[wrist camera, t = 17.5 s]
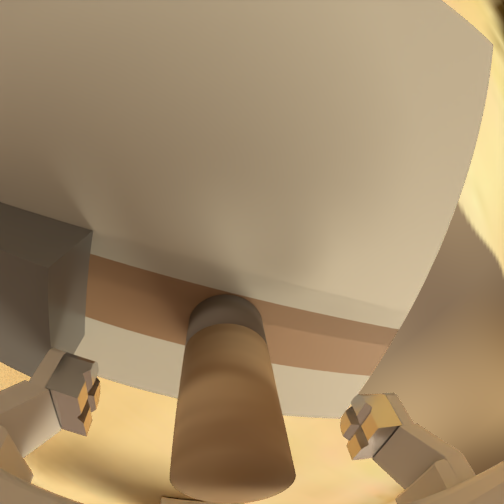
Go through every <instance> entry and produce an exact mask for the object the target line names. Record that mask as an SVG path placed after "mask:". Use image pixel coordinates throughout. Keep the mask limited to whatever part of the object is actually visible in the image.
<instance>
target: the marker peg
mask: <svg viewBox="0 0 504 504" xmlns="http://www.w3.org/2000/svg"><path fill="white" fill-rule="evenodd" d="M295 477H296V474H295V469H294V465H293V460H292V456H291V451H290V447H289V442H288V437H287V433H286V428H285V424H284V419H283V415H282V410H281V405H280V401H279V396H278V392H277V387H276V382H275V378H274V373H273V369H272V364H271V359H270V355H269V350H268V345H267V341H266V336H265V331H264V327H263V322H262V317H261V315H260V313H259V311H258V309H257V308H256V307H255V306H254V305H253V304H252V303H251V302H249V301H248V300H246V299H244V298H242V297H239V296H235V295H227V294H223V295H216V296H212V297H209V298H207V299H205V300H203V301H202V302H200V303H199V304H198V305H197V306H196V307H195V308H194V310H193V311H192V313H191V315H190V318H189V323H188V330H187V336H186V343H185V350H184V357H183V364H182V371H181V378H180V386H179V394H178V402H177V410H176V418H175V427H174V436H173V446H172V456H171V467H170V482H171V484H172V485H173V486H174V488H175V489H177V490H178V491H179V492H181V493H183V494H185V495H187V496H189V497H192V498H195V499H198V500H202V501H207V502H213V503H224V504H236V503H248V502H254V501H259V500H263V499H266V498H269V497H272V496H275V495H277V494H279V493H281V492H283V491H284V490H286V489H287V488H289V487H290V486H291V485H292V483H293V482H294V480H295Z"/></svg>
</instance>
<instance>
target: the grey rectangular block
mask: <svg viewBox="0 0 504 504" xmlns="http://www.w3.org/2000/svg"><path fill="white" fill-rule="evenodd" d="M92 236H93V230H89V229H86V228H82V227H79V226H76V225H72V224H69V223H66V222H62V221H59V220H56V219H53V218H49V217H46V216H43V215H40V214H36V213H33V212H30V211H27V210H23V209H20V208H17V207H14V206H11V205H8V204H4V203H1V202H0V362H2V363H4V364H6V365H7V366H9V367H11V368H13V369H15V370H17V371H20V372H22V373H24V374H26V375H28V376H30V377H32V376H33V374H34V373H35V371H36V369H37V368H38V366H39V365H40V363H41V362H42V360H43V358H44V357H45V355H46V354H47V352H48V351H49V350H50V349H52V348H55V349H58V350H61V351H64V352H68V353H71V354H74V353H75V351H76V349H77V348H78V346H79V344H80V342H81V341H82V339H83V337H84V336H85V311H86V294H87V281H88V270H89V260H90V251H91V243H92Z"/></svg>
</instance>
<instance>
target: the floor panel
mask: <svg viewBox="0 0 504 504" xmlns="http://www.w3.org/2000/svg"><path fill="white" fill-rule="evenodd" d="M492 53H493V44H492V43H491V42H490V41H489V40H488V39H487V38H486V37H485V36H484V35H483V34H482V33H481V32H479V31H478V30H477V29H476V28H475V27H474V26H473V25H472V24H470V23H469V22H468V21H467V20H466V19H465V18H463V17H462V16H461V15H460V14H458V13H457V12H456V11H455V10H453V9H452V8H451V7H450V6H448V5H447V4H446V3H444V2H443V1H442V0H0V202H1V203H4V204H8V205H11V206H14V207H17V208H20V209H23V210H27V211H30V212H33V213H36V214H40V215H43V216H46V217H49V218H53V219H56V220H59V221H62V222H66V223H69V224H72V225H76V226H79V227H82V228H86V229H89V230H93V236H92V243H91V251H90V260H89V270H88V281H87V294H86V311H85V336H84V337H83V339H82V341H81V342H80V344H79V346H78V348H77V349H76V351H75V353H74V355H77V356H80V357H83V358H86V359H89V360H92V361H96V362H97V363H98V369H99V372H98V374H97V376H98V377H101V378H105V379H108V380H111V381H114V382H117V383H121V384H124V385H127V386H131V387H134V388H138V389H142V390H145V391H149V392H153V393H157V394H161V395H165V396H169V397H174V398H178V394H179V386H180V378H181V371H182V364H183V357H184V350H185V343H186V336H187V330H188V323H189V318H190V315H191V313H192V311H193V310H194V308H195V307H196V306H197V305H198V304H199V303H200V302H202V301H203V300H205V299H207V298H209V297H212V296H216V295H223V294H227V295H235V296H239V297H242V298H244V299H246V300H248V301H249V302H251V303H252V304H253V305H254V306H255V307H256V308H257V309H258V311H259V313H260V315H261V317H262V322H263V327H264V331H265V336H266V341H267V345H268V350H269V355H270V359H271V364H272V369H273V373H274V378H275V382H276V387H277V392H278V396H279V401H280V405H281V410H282V415H287V416H299V417H314V418H338V419H340V418H341V416H342V415H343V414H344V412H345V411H346V410H347V408H348V407H349V406H350V404H351V401H352V399H353V398H354V397H355V396H356V395H358V393H359V392H360V390H361V389H362V388H363V386H364V385H365V383H366V382H367V380H368V379H369V377H370V376H371V374H372V373H373V371H374V370H375V368H376V367H377V365H378V363H379V362H380V360H381V359H382V357H383V355H384V354H385V352H386V351H387V349H388V347H389V346H390V344H391V342H392V341H393V339H394V337H395V335H396V334H397V332H398V330H399V329H400V327H401V325H402V323H403V322H404V320H405V318H406V316H407V314H408V313H409V311H410V309H411V307H412V305H413V303H414V301H415V299H416V297H417V296H418V294H419V291H420V289H421V288H422V285H423V284H424V282H425V279H426V277H427V275H428V273H429V271H430V269H431V267H432V265H433V262H434V260H435V258H436V256H437V253H438V251H439V249H440V246H441V244H442V242H443V239H444V237H445V234H446V232H447V230H448V227H449V224H450V222H451V219H452V217H453V214H454V211H455V209H456V206H457V203H458V200H459V198H460V195H461V192H462V189H463V186H464V183H465V180H466V176H467V173H468V170H469V167H470V163H471V160H472V156H473V153H474V149H475V145H476V141H477V137H478V133H479V129H480V125H481V120H482V116H483V111H484V106H485V101H486V95H487V90H488V83H489V77H490V70H491V62H492Z"/></svg>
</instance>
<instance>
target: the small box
mask: <svg viewBox="0 0 504 504" xmlns="http://www.w3.org/2000/svg"><path fill="white" fill-rule="evenodd" d="M161 504H224V503H213V502H204V501H192V500H181V499H173V498H166V497H161ZM236 504H244V503H236Z"/></svg>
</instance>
